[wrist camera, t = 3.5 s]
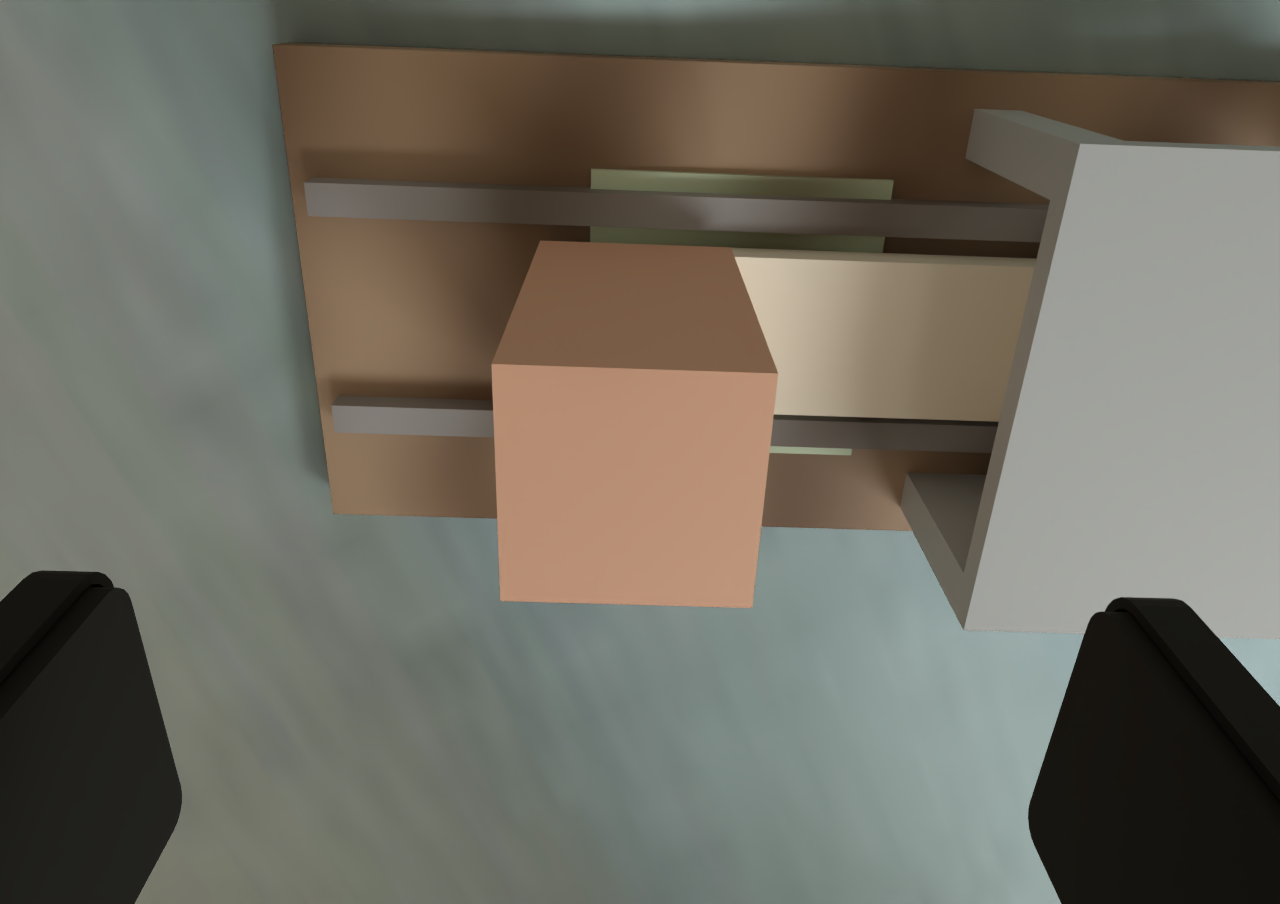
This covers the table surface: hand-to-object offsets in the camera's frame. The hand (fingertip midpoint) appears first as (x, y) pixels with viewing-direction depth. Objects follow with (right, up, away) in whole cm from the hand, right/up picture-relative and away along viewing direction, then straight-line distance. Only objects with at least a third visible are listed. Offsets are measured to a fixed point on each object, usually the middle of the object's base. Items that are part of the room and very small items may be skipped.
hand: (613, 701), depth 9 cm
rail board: (+8, +6, +13) cm, 16 cm away
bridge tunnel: (+11, +5, +12) cm, 17 cm away
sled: (+8, +5, +12) cm, 15 cm away
